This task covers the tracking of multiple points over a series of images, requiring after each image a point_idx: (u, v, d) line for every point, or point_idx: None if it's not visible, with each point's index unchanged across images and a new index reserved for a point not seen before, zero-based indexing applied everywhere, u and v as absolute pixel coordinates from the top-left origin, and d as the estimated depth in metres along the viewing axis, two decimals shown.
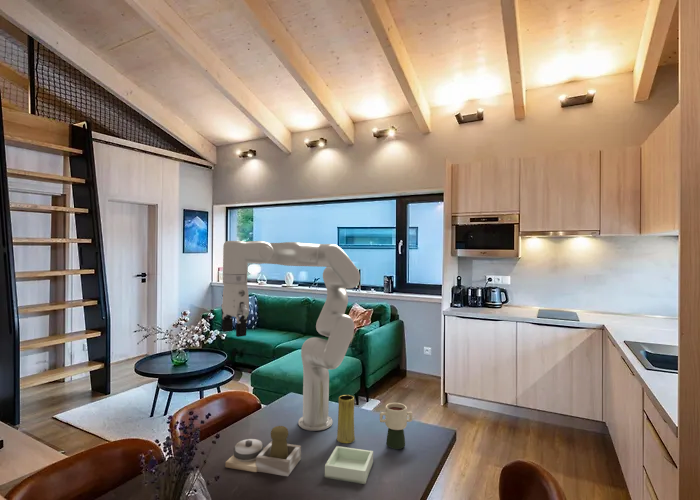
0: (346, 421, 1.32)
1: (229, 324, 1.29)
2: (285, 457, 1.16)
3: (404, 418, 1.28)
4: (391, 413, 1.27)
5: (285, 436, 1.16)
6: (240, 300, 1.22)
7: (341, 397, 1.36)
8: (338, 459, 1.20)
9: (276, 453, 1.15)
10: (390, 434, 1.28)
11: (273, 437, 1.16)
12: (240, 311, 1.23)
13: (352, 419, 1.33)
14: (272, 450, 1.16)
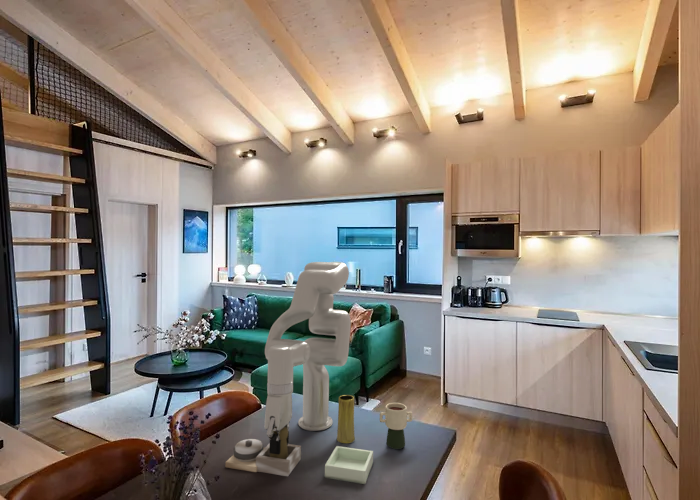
0: (346, 421, 1.32)
1: None
2: (285, 457, 1.16)
3: (404, 418, 1.28)
4: (391, 413, 1.27)
5: (285, 436, 1.16)
6: None
7: (341, 397, 1.36)
8: (338, 459, 1.20)
9: None
10: (390, 434, 1.28)
11: None
12: None
13: (352, 419, 1.33)
14: None
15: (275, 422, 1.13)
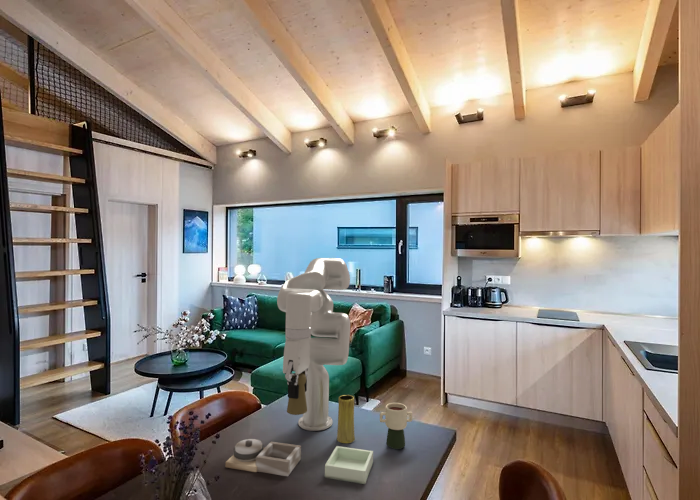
0: (346, 421, 1.32)
1: None
2: (303, 402, 1.16)
3: (404, 418, 1.28)
4: (391, 413, 1.27)
5: (303, 381, 1.16)
6: None
7: (341, 397, 1.36)
8: (338, 459, 1.20)
9: None
10: (390, 434, 1.28)
11: None
12: None
13: (352, 419, 1.33)
14: None
15: (293, 366, 1.12)
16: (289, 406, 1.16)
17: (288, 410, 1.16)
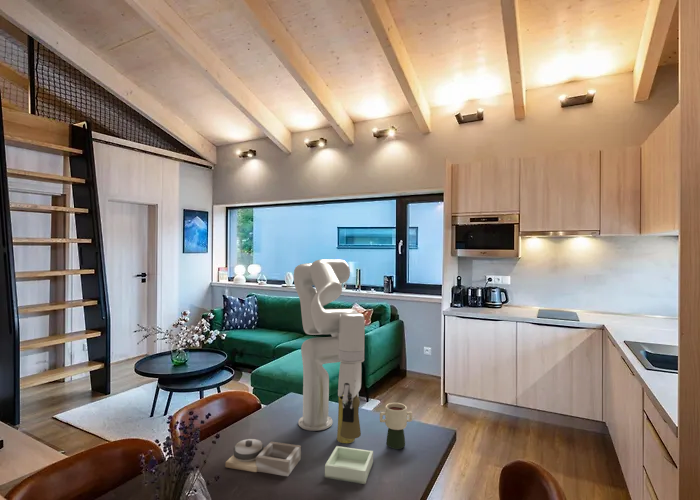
0: None
1: None
2: (358, 426, 1.14)
3: (404, 418, 1.28)
4: (391, 413, 1.27)
5: (357, 404, 1.14)
6: None
7: (341, 397, 1.36)
8: (338, 459, 1.20)
9: (349, 422, 1.13)
10: (390, 434, 1.28)
11: None
12: None
13: None
14: None
15: (350, 389, 1.11)
16: (343, 430, 1.14)
17: (342, 434, 1.14)
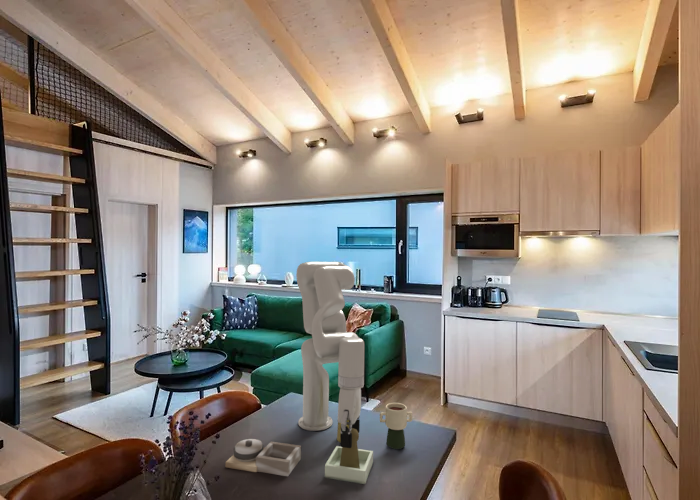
0: None
1: None
2: (357, 460, 1.14)
3: (404, 418, 1.28)
4: (391, 413, 1.27)
5: (357, 438, 1.14)
6: None
7: None
8: (338, 459, 1.20)
9: (348, 456, 1.13)
10: (390, 434, 1.28)
11: None
12: None
13: None
14: (343, 452, 1.14)
15: (349, 415, 1.11)
16: (342, 464, 1.14)
17: None
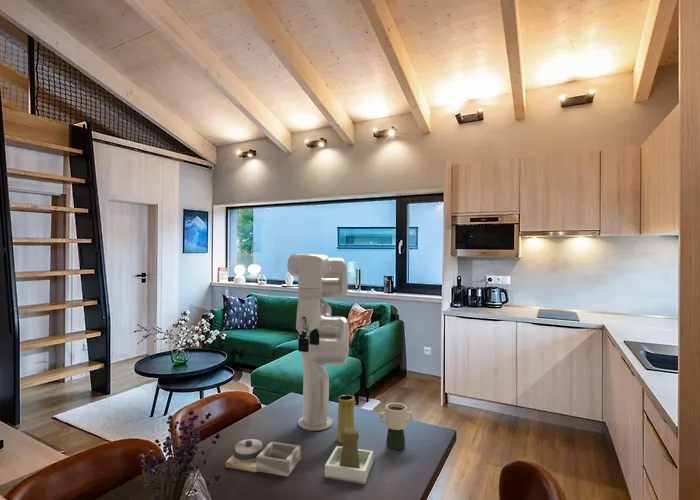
0: (346, 421, 1.32)
1: None
2: (357, 460, 1.14)
3: (404, 418, 1.28)
4: (391, 413, 1.27)
5: (357, 438, 1.14)
6: None
7: (341, 397, 1.36)
8: (338, 459, 1.20)
9: (348, 456, 1.13)
10: (390, 434, 1.28)
11: (345, 439, 1.14)
12: None
13: (352, 419, 1.33)
14: (343, 452, 1.14)
15: (306, 322, 1.19)
16: (342, 464, 1.14)
17: None
